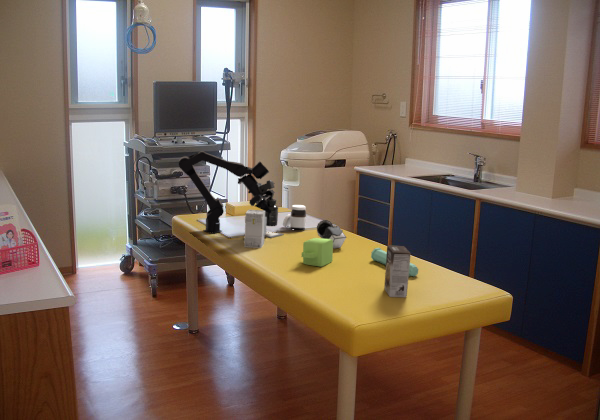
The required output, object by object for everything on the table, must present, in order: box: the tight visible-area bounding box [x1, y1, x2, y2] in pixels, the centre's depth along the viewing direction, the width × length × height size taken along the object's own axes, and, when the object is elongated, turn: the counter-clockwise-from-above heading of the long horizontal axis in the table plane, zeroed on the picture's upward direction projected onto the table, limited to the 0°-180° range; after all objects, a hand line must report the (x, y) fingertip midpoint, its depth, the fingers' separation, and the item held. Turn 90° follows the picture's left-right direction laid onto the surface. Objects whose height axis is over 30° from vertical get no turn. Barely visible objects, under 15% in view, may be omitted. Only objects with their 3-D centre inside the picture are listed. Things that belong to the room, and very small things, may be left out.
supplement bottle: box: [262, 198, 279, 227], centre depth 293 cm, size 7×7×12 cm
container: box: [370, 247, 419, 277], centre depth 249 cm, size 6×6×25 cm
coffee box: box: [383, 244, 411, 298], centre depth 218 cm, size 9×6×16 cm
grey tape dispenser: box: [316, 219, 347, 250], centre depth 283 cm, size 25×10×10 cm, turn 14°
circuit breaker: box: [243, 209, 267, 249], centre depth 277 cm, size 8×14×15 cm, turn 174°
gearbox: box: [301, 237, 334, 267], centre depth 253 cm, size 18×10×10 cm, turn 153°
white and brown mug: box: [282, 204, 307, 231], centre depth 309 cm, size 12×11×12 cm
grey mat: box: [264, 231, 284, 239], centre depth 295 cm, size 9×9×1 cm
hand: (273, 211), depth 293 cm, fingers closed on supplement bottle, 7 cm apart
